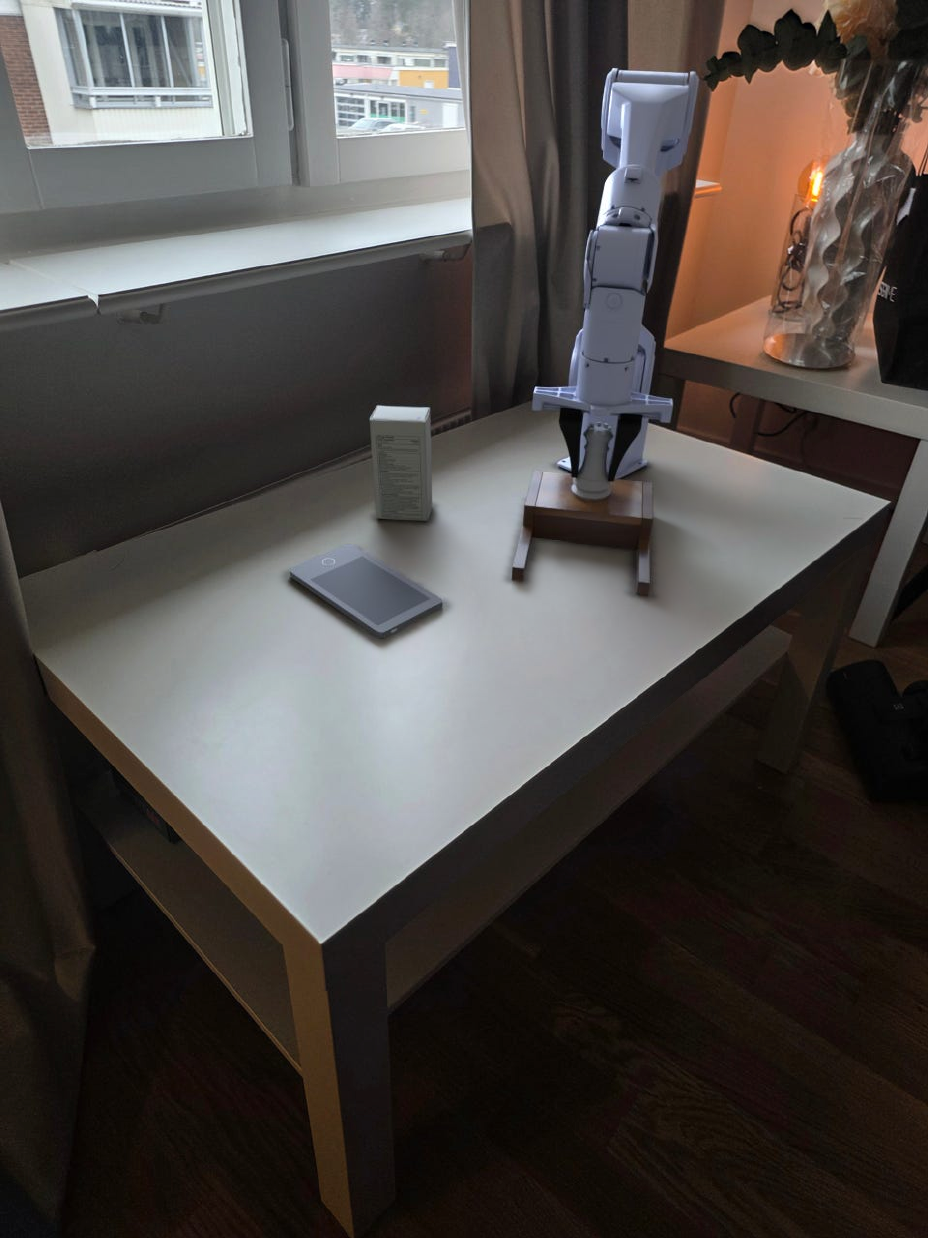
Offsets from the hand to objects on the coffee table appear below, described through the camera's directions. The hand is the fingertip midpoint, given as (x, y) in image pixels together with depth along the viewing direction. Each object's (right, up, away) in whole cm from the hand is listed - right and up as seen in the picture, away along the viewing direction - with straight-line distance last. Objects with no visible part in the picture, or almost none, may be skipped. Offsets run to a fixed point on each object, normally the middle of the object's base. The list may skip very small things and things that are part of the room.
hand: (592, 475), depth 93 cm
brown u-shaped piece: (-1, -8, 0) cm, 8 cm away
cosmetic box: (-21, -4, +5) cm, 22 cm away
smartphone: (-24, -13, -9) cm, 29 cm away
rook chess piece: (0, -2, +1) cm, 2 cm away
